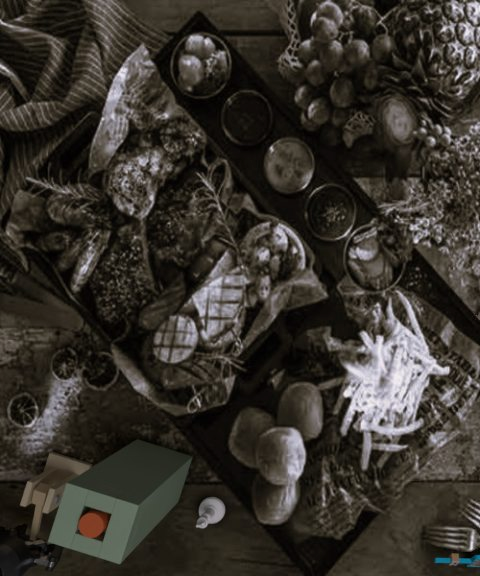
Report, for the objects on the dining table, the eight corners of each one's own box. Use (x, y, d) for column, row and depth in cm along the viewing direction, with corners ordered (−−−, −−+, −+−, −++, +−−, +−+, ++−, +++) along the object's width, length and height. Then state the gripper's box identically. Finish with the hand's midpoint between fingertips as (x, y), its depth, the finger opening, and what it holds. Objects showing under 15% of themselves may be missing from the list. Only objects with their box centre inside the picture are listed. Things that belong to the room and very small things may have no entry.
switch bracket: (78, 509, 144) (51, 529, 132) (37, 497, 143) (7, 515, 132) (92, 464, 144) (67, 479, 132) (52, 451, 144) (23, 465, 132)
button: (83, 527, 113) (75, 533, 110) (90, 504, 113) (82, 509, 110) (106, 534, 113) (99, 541, 110) (113, 511, 113) (106, 517, 110)
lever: (49, 544, 138) (42, 552, 136) (22, 535, 138) (15, 544, 136) (60, 488, 134) (53, 496, 132) (33, 480, 134) (25, 487, 132)
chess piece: (195, 501, 144) (182, 517, 134) (220, 493, 144) (208, 508, 134) (203, 526, 144) (190, 543, 134) (228, 518, 144) (217, 535, 134)
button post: (122, 484, 144) (47, 542, 111) (137, 439, 144) (66, 482, 111) (178, 502, 144) (119, 564, 111) (192, 456, 144) (138, 505, 111)
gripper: (45, 558, 123) (85, 526, 140) (-40, 531, 123) (10, 502, 140) (31, 602, 123) (72, 565, 140) (-55, 576, 123) (-3, 541, 140)
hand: (41, 534), depth 140 cm, fingers open, 5 cm apart
